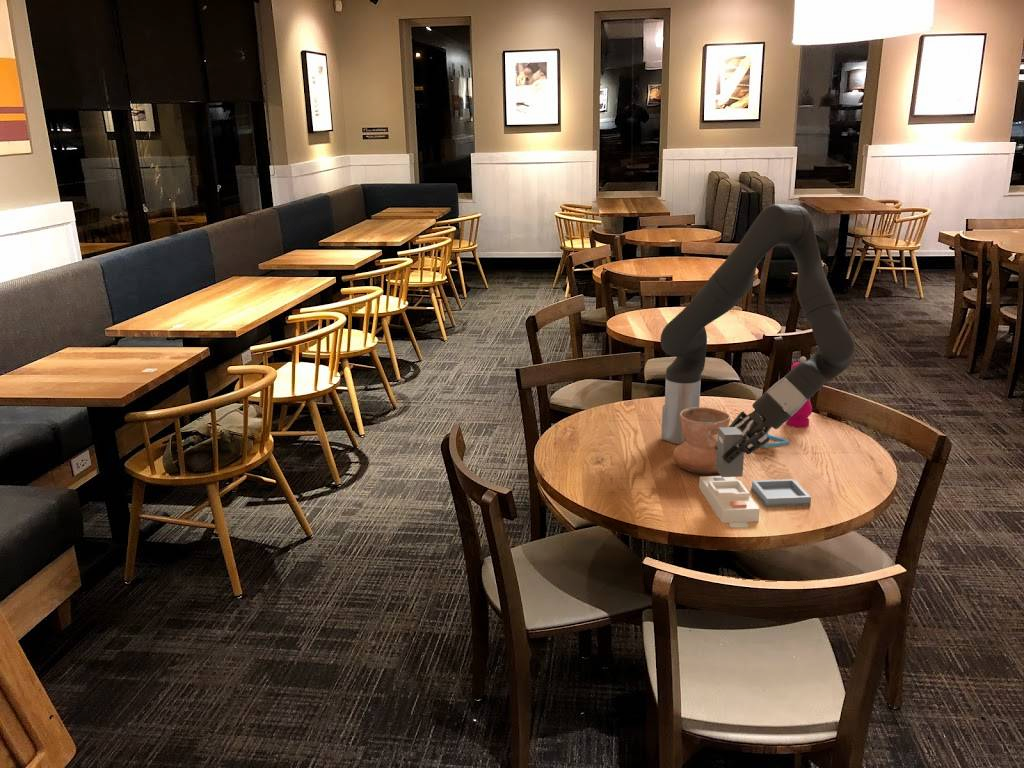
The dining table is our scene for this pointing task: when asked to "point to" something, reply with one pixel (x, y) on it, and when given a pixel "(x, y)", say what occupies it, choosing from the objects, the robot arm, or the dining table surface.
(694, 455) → the ceramic jug
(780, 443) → the chair
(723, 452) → the block
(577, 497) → the dining table surface
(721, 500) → the white rectangular base
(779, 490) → the tray
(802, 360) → the pepper mill
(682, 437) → the robot arm
